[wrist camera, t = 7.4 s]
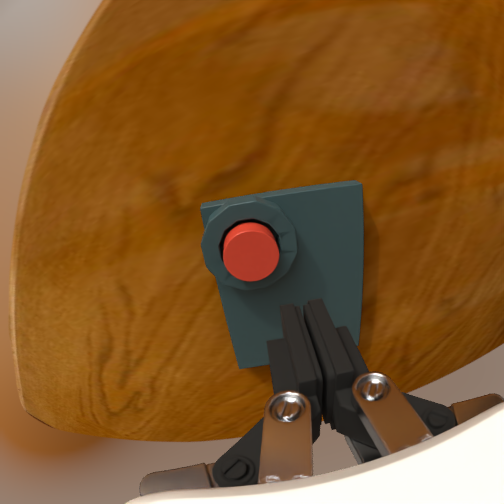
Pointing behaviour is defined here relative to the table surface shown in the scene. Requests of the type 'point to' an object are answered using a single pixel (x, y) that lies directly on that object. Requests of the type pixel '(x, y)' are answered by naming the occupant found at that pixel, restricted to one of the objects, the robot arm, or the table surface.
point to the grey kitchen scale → (290, 260)
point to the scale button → (250, 251)
